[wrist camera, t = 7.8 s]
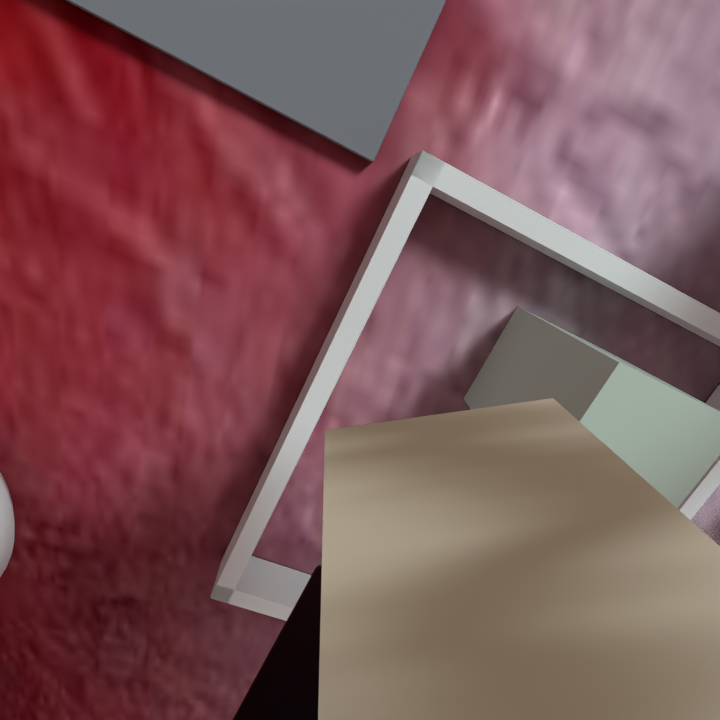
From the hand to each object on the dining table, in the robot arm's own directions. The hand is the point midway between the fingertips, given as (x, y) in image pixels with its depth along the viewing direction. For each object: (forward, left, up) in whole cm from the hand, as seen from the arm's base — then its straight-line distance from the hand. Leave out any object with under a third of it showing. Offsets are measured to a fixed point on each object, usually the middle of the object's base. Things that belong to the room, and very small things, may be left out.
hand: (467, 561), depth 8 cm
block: (-6, -2, -12) cm, 13 cm away
